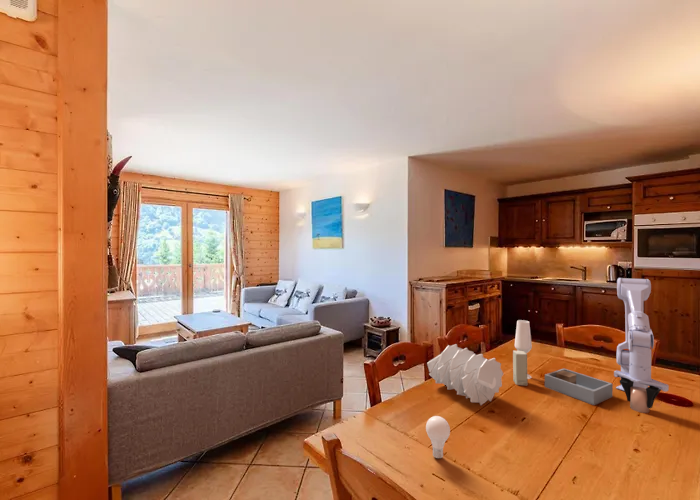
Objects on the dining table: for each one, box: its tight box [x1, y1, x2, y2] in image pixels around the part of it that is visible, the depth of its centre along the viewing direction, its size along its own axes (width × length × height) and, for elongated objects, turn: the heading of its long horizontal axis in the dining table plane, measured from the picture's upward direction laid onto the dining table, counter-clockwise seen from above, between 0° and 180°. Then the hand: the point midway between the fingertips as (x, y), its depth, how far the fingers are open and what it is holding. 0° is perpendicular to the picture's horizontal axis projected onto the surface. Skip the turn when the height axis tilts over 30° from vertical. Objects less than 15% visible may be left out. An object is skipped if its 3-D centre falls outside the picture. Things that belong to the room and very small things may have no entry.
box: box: [512, 350, 528, 386], centre depth 137 cm, size 5×4×13 cm
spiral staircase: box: [426, 343, 504, 406], centre depth 127 cm, size 18×18×25 cm
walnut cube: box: [556, 371, 576, 384], centre depth 133 cm, size 5×5×5 cm
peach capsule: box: [629, 386, 650, 414], centre depth 115 cm, size 5×5×7 cm
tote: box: [544, 368, 614, 406], centre depth 129 cm, size 14×18×5 cm
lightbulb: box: [425, 415, 451, 459], centre depth 90 cm, size 6×6×11 cm
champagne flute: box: [514, 319, 533, 380], centre depth 145 cm, size 7×7×24 cm
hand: (639, 403), depth 115 cm, fingers closed on peach capsule, 5 cm apart
